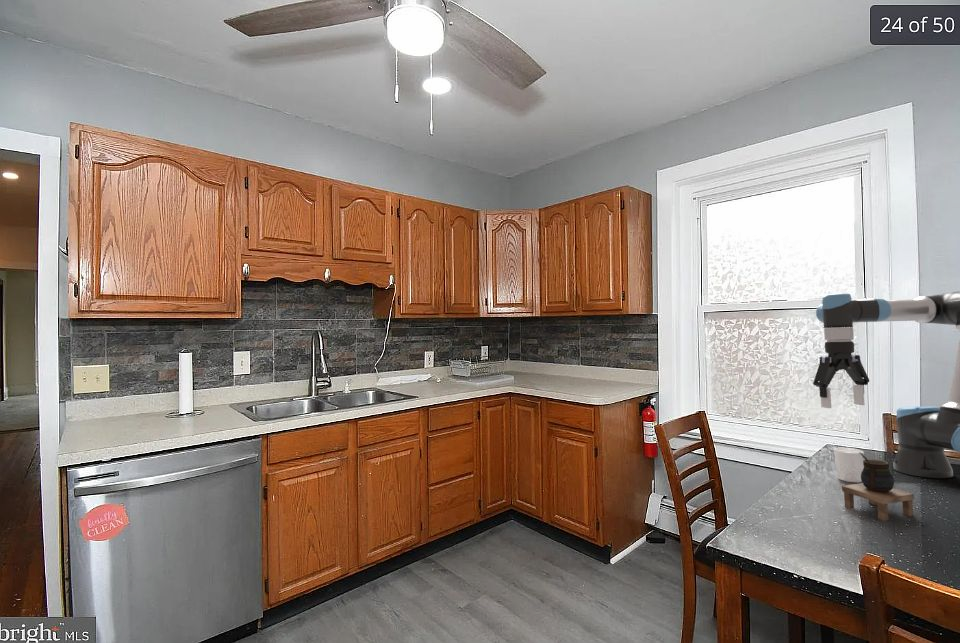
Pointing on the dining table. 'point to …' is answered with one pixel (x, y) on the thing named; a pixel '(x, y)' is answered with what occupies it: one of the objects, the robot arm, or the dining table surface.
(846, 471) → the white cup
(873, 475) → the mate gourd
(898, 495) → the walnut stool
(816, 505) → the dining table surface
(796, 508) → the dining table surface
